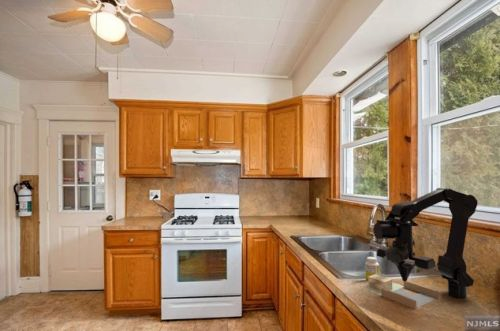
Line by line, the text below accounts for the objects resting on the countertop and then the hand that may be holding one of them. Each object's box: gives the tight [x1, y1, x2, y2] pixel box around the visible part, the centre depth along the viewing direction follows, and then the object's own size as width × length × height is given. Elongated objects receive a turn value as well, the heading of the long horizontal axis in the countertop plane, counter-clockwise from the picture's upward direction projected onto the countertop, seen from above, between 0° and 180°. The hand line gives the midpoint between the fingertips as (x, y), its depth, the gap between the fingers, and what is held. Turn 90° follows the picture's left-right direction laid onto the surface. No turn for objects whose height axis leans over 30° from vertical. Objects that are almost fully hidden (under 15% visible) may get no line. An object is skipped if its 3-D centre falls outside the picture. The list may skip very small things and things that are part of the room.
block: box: [367, 274, 393, 291], centre depth 107 cm, size 7×5×4 cm
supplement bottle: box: [364, 256, 380, 282], centre depth 118 cm, size 6×6×10 cm
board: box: [363, 280, 439, 310], centre depth 102 cm, size 20×16×4 cm
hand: (404, 281), depth 99 cm, fingers closed
